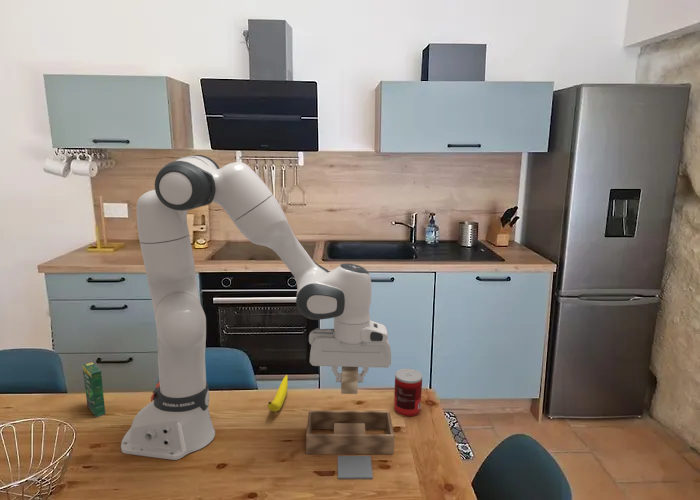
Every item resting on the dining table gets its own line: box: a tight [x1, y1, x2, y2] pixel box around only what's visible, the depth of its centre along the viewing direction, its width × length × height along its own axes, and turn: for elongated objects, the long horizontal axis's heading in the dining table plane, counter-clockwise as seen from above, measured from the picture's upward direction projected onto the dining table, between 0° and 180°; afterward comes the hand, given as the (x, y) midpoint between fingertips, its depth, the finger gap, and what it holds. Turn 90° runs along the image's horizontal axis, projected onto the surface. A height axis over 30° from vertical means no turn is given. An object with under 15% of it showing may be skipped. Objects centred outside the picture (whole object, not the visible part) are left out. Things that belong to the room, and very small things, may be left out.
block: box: [340, 367, 359, 395], centre depth 125 cm, size 4×4×6 cm
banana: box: [267, 374, 289, 412], centre depth 144 cm, size 3×19×6 cm, turn 173°
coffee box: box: [81, 361, 106, 418], centre depth 139 cm, size 8×3×13 cm, turn 43°
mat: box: [337, 455, 374, 480], centre depth 118 cm, size 8×8×1 cm
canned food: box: [393, 368, 423, 417], centre depth 143 cm, size 8×8×11 cm
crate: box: [305, 410, 395, 455], centre depth 129 cm, size 22×12×5 cm, turn 92°
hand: (349, 381), depth 125 cm, fingers closed on block, 4 cm apart
